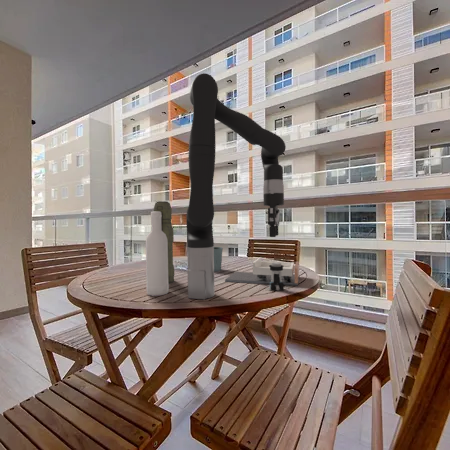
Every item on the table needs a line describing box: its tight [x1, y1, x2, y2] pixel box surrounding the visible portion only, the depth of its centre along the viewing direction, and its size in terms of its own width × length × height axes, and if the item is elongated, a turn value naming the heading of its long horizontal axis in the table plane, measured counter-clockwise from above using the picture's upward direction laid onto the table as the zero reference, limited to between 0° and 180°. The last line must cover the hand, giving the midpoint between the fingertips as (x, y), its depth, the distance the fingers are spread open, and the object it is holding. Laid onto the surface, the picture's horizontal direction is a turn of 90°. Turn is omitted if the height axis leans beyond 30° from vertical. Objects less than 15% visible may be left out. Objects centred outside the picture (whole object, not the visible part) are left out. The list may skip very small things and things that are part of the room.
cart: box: [252, 256, 295, 280], centre depth 112 cm, size 16×16×7 cm
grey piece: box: [224, 261, 300, 287], centre depth 114 cm, size 17×30×7 cm, turn 72°
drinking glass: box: [214, 246, 224, 273], centre depth 137 cm, size 10×10×12 cm
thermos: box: [153, 200, 175, 284], centre depth 111 cm, size 9×12×35 cm
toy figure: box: [265, 261, 285, 291], centre depth 96 cm, size 7×5×10 cm
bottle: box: [145, 211, 170, 297], centre depth 94 cm, size 8×8×30 cm
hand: (274, 236), depth 96 cm, fingers open, 8 cm apart
